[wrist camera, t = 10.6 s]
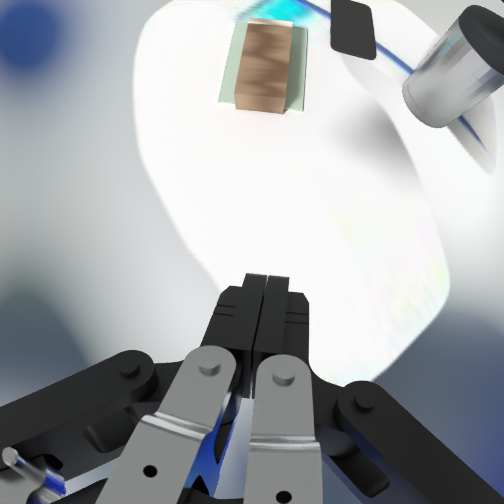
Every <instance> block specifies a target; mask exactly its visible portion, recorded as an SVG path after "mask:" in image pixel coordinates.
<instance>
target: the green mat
mask: <svg viewBox="0 0 504 504" xmlns="http://www.w3.org/2000/svg"><path fill="white" fill-rule="evenodd" d="M247 26H248V23H246V22H236V24H235V28H234V32H233V37H232V41H231V45H230V49H229V53H228V58H227V62H226V66H225V71H224V76H223V80H222V85H221V90H220V94H219V99H218V103H232V104H235V98H234V91H235V85H236V80H237V75H238V70H239V65H240V59H241V55H242V50H243V45H244V40H245V35H246V31H247ZM306 48H307V29H303V28H296V27H292V36H291V47H290V58H289V69H288V79H287V90H286V99H285V105H284V109H289V110H296V111H303V98H304V83H305V67H306Z"/></svg>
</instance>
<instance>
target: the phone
mask: <svg viewBox="0 0 504 504" xmlns="http://www.w3.org/2000/svg"><path fill="white" fill-rule="evenodd" d="M330 34H331V42H330V44H331V48H332V49H333V50H335V51H338V52H340V53H344V54H348V55H351V56H355V57H359V58H363V59H368V60H374V59H375V57H376V46H375V37H374V28H373V21H372V14H371V9H370V7H369V6H367V5H365V4H362V3H358V2H355V1H351V0H331V27H330Z"/></svg>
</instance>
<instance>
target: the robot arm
mask: <svg viewBox="0 0 504 504" xmlns="http://www.w3.org/2000/svg"><path fill="white" fill-rule="evenodd" d="M502 2H504V0H502ZM502 85H504V18H502V17H501V16H499V15H497V14H496V13H494V12H492V11H490V10H488V9H486V8H484V7H481V6H478V5H471V6H469V7H467V8H466V9H465V10H464V11H463V13H462V14H461V15H460V16H459V17H458V19H457V20H456V21H455V22H454V23H453V25H452V26H451V27H450V28H449V29H448V31H447V32H446V33H445V34H444V36H443V37H442V38H441V39H440V40H439V42H438V43H437V44H436V45H435V46H434V48H433V49H432V50H431V51H430V52H429V54H428V55H427V56H426V57H425V58H424V60H423V61H422V62H421V63H420V64H419V66H418V67H417V68H416V69H415V70H414V72H413V73H412V74H411V75H410V77H409V78H408V79H407V80H406V81H405V83H404V85H403V90H402V92H403V97H404V100H405V103H406V105H407V106H408V108H409V110H410V111H411V112H412V113H413V115H415V117H416V118H418V119H419V120H420V121H421V122H423V123H424V124H426V125H428V126H431V127H434V128H442V127H445V126H446V125H448V124H449V123H450V122H452V121H453V120H455V119H456V118H458V117H459V116H460V115H462V114H463V113H465V112H466V111H468V110H469V109H470V108H472V107H473V106H475V105H476V104H477V103H479V102H480V101H482V100H483V99H484V98H486V97H487V96H489V95H490V94H491V93H493V92H494V91H496V90H497V89H498V88H500V87H501V86H502ZM288 287H289V277H282V276H271V275H269V276H268V281H267V275H260V274H250V273H246V275H245V279H244V282H243V285H242V287H238V286H229V287H228V288H227V289H226V290H224V291H223V292H222V293H221V294H220V297H219V299H218V302H217V306H216V307H215V309H214V312H213V315H212V317H211V319H210V322H209V325H208V327H207V330H206V332H205V335H204V337H203V340H202V342H201V345H200V347H199V348H196V349H194V350H193V351H191V352H190V353H189V354H188V355H187V356H186V358H185V359H184V360H182V361H179V362H172V363H155V364H154V363H153V360H152V359H151V357H150V356H149V355H147V354H146V353H144V352H142V351H138V350H128V351H123V352H121V353H118V354H116V355H114V356H112V357H110V358H108V359H106V360H104V361H102V362H100V363H98V364H95V365H93V366H91V367H89V368H87V369H85V370H83V371H80V372H78V373H76V374H74V375H72V376H69V377H67V378H65V379H63V380H61V381H59V382H56V383H54V384H52V385H50V386H47V387H45V388H43V389H41V390H39V391H36V392H34V393H32V394H29V395H27V396H25V397H23V398H20V399H18V400H16V401H13V402H11V403H9V404H6V405H4V406H1V407H0V504H323V497H322V495H323V492H322V461H321V458H322V459H323V460H324V462H325V463H326V464H327V465H328V466H329V467H330V468H331V470H332V471H333V472H334V473H335V474H336V475H337V476H338V478H339V479H340V480H341V481H342V482H343V483H344V484H345V485H346V486H347V487H348V489H349V490H350V491H351V492H352V493H353V494H354V495H355V496H356V497H357V498H358V499H359V500H360V501H361V503H363V504H504V498H503V497H502V496H501V495H500V494H499V493H498V492H497V491H495V490H494V489H493V488H492V487H491V486H490V485H488V484H487V483H486V482H485V481H484V480H483V479H482V478H481V477H480V476H478V475H477V474H476V473H475V472H474V471H473V470H472V469H471V468H469V467H468V466H467V465H466V464H465V463H464V462H463V461H462V460H461V459H459V458H458V457H457V456H456V455H455V454H454V453H453V452H452V451H451V450H449V449H448V448H447V447H446V446H445V445H444V444H443V443H442V442H441V441H440V440H438V439H437V438H436V437H435V436H434V435H433V434H432V433H431V432H430V431H428V430H427V429H426V428H425V427H424V426H423V425H422V424H421V423H420V422H419V421H418V420H416V419H415V418H414V417H413V416H412V415H411V414H410V413H409V412H408V411H407V410H405V409H404V408H403V407H402V406H401V405H400V404H399V403H398V402H397V401H396V400H395V399H394V398H392V397H391V396H390V395H389V394H388V393H387V392H386V391H385V390H384V389H383V388H381V387H380V386H379V385H377V384H375V383H373V382H369V381H354V382H351V383H349V384H347V385H346V386H345V387H341V386H338V385H335V384H332V383H329V382H326V381H324V380H322V379H321V378H319V377H318V376H317V375H316V374H315V373H314V372H313V371H312V369H311V367H310V365H309V302H308V300H307V299H306V297H305V295H304V294H303V293H298V292H288ZM251 389H252V399H254V409H253V420H252V431H251V439H250V446H249V455H248V465H247V474H246V483H245V493H244V498H240V499H216V498H214V495H215V492H216V489H217V486H218V482H219V477H220V470H221V466H222V463H223V460H224V457H225V454H226V451H227V448H228V445H229V442H230V439H231V436H232V433H233V430H234V427H235V424H236V421H237V416H238V412H239V408H240V404H241V399H242V398H250V394H251ZM119 456H120V458H119V460H118V461H117V463H116V465H115V467H114V469H113V471H112V473H111V474H110V476H109V478H105V479H102V480H99V481H97V482H95V483H93V484H91V485H89V486H87V487H85V488H83V489H81V490H79V491H77V492H75V493H72V494H70V495H68V496H66V497H64V496H65V494H66V488H65V481H67V480H69V479H72V478H74V477H77V476H79V475H81V474H83V473H86V472H88V471H90V470H92V469H95V468H97V467H99V466H101V465H103V464H105V463H107V462H109V461H111V460H113V459H115V458H117V457H119ZM61 497H63V498H61ZM58 498H61V499H59V500H57V499H58ZM55 500H57V501H55Z"/></svg>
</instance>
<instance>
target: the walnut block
mask: <svg viewBox="0 0 504 504" xmlns="http://www.w3.org/2000/svg"><path fill="white" fill-rule="evenodd" d="M292 25H293V22H288V21H280V20H270V19H259V18H249V21H248V26H247V31H246V35H245V40H244V45H243V50H242V55H241V59H240V65H239V70H238V75H237V80H236V85H235V91H234V98H235V106H236V109H241V110H252V111H262V112H270V113H279V114H283V110H284V105H285V99H286V90H287V79H288V69H289V58H290V47H291V36H292Z"/></svg>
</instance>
